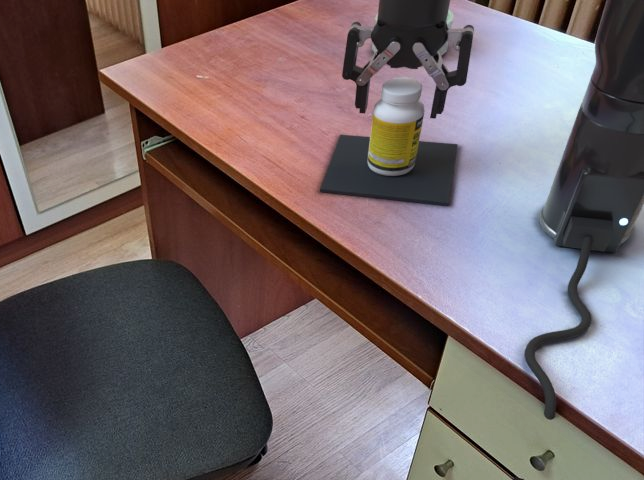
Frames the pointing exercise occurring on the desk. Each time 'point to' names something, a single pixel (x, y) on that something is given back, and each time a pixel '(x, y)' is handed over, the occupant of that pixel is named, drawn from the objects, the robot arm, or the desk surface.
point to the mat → (415, 186)
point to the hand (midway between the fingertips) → (398, 113)
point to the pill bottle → (396, 127)
